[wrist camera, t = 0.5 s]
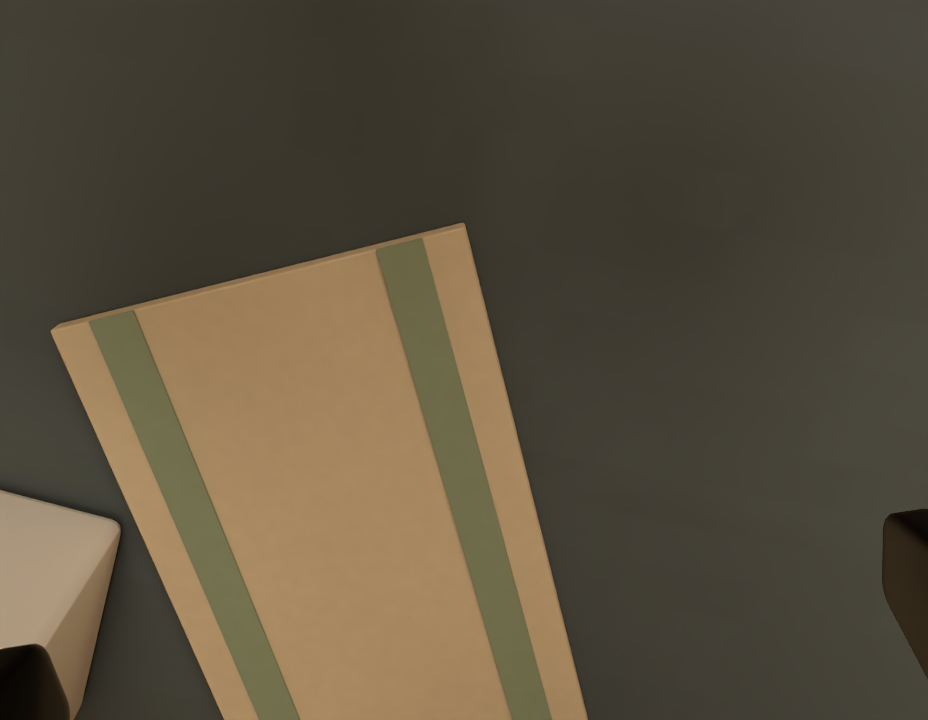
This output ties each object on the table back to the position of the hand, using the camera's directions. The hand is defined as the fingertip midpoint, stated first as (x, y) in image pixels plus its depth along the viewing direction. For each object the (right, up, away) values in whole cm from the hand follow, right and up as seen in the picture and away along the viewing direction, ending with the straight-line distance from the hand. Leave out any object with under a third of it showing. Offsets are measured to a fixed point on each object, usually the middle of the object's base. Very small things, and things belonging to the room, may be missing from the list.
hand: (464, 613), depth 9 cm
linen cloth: (-3, -4, +17) cm, 17 cm away
